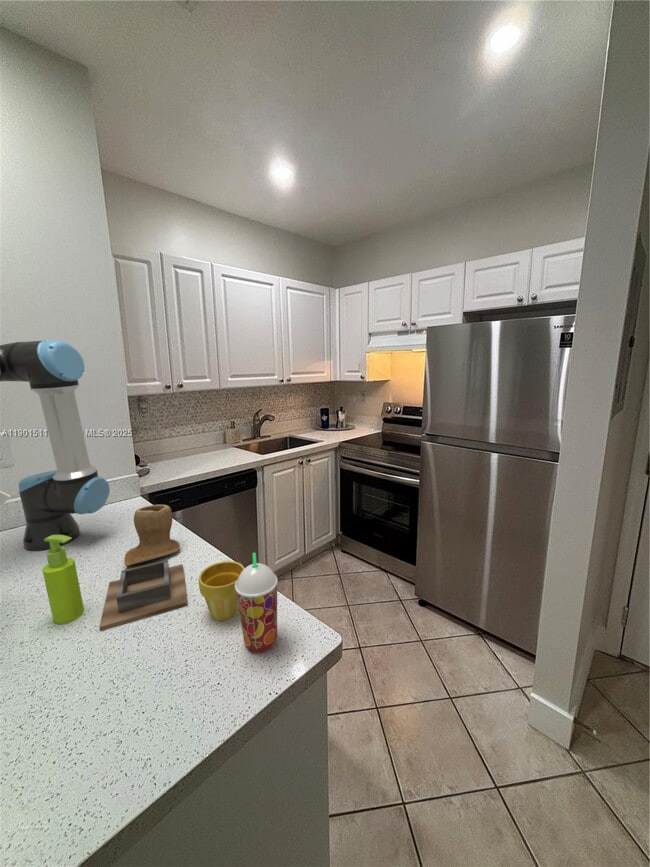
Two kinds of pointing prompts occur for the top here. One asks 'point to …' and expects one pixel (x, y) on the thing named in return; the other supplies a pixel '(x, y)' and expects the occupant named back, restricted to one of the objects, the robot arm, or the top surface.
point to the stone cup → (152, 534)
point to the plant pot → (220, 588)
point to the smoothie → (257, 605)
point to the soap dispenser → (62, 582)
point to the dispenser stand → (144, 593)
